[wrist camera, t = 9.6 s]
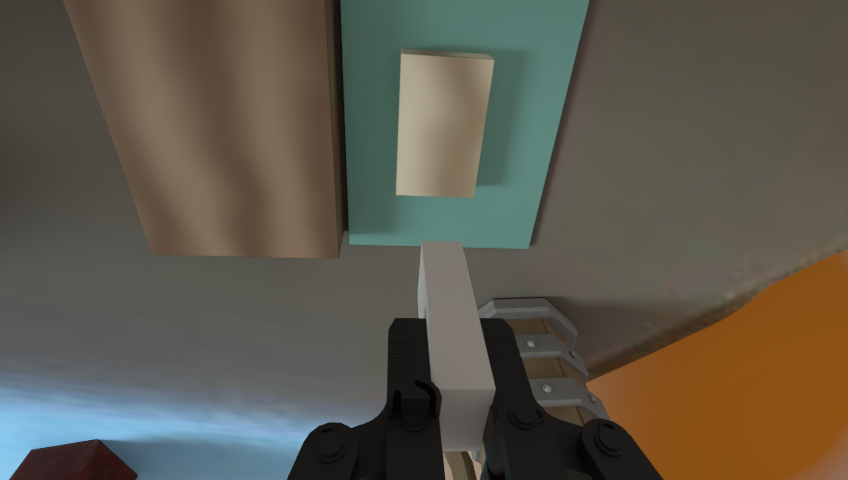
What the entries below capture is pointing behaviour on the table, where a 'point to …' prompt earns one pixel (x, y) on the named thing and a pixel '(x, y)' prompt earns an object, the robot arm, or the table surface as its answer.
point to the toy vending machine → (74, 463)
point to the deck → (222, 120)
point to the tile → (441, 121)
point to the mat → (504, 126)
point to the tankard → (540, 368)
